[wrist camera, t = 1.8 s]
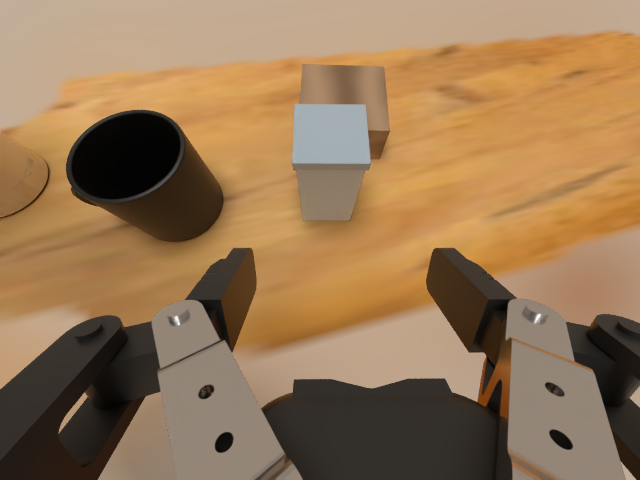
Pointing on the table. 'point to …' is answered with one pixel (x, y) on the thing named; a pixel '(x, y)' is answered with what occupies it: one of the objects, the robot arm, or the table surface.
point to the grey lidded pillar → (330, 158)
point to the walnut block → (351, 95)
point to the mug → (145, 175)
